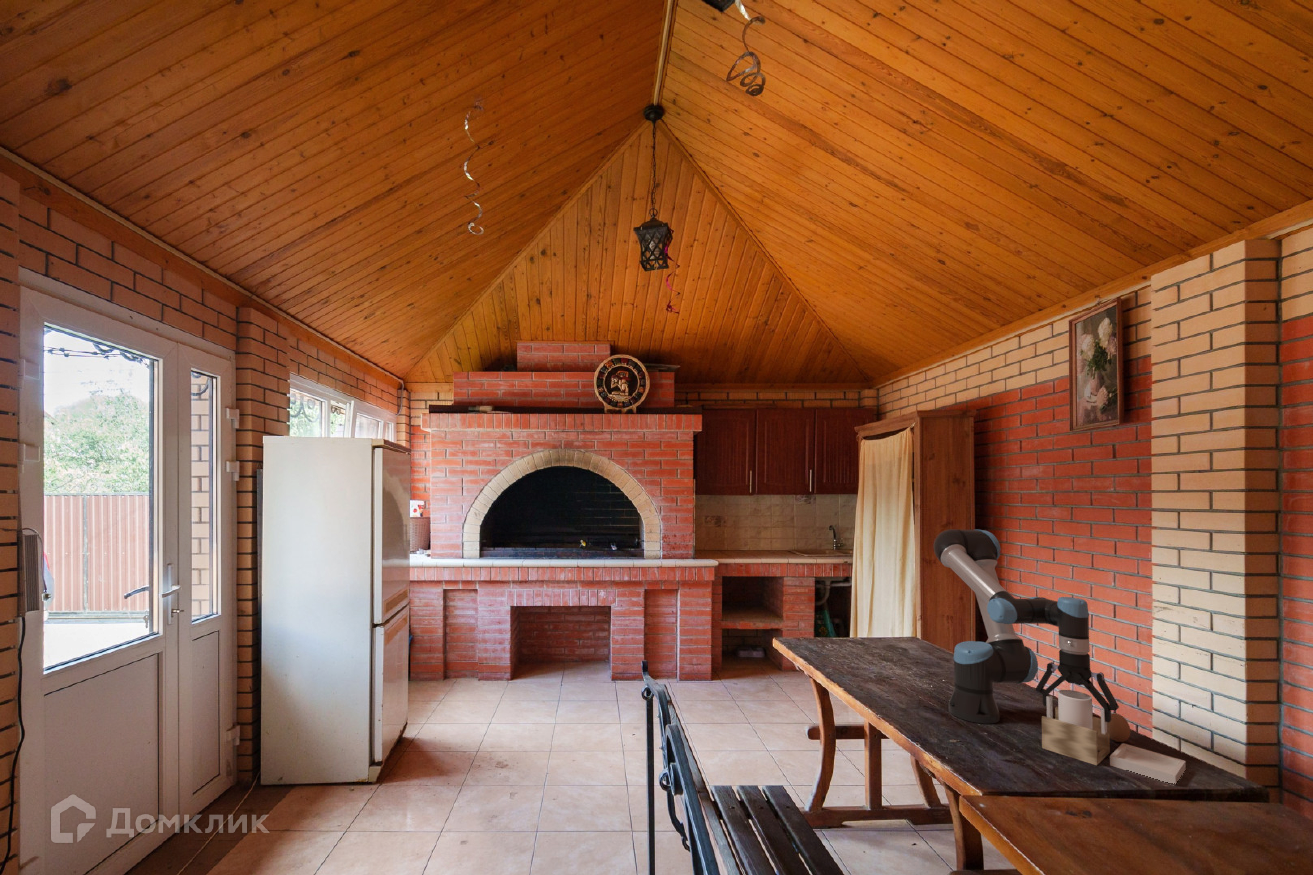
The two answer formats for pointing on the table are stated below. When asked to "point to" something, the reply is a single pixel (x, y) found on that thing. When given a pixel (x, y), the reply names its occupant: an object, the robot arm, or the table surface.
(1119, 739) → the egg
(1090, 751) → the holder
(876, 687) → the table surface
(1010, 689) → the table surface
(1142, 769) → the tray
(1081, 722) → the cup
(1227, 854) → the table surface
